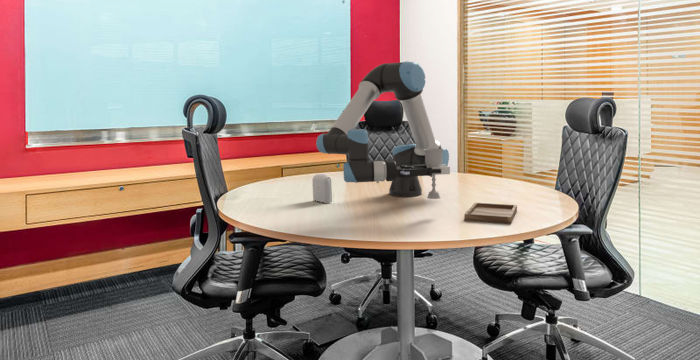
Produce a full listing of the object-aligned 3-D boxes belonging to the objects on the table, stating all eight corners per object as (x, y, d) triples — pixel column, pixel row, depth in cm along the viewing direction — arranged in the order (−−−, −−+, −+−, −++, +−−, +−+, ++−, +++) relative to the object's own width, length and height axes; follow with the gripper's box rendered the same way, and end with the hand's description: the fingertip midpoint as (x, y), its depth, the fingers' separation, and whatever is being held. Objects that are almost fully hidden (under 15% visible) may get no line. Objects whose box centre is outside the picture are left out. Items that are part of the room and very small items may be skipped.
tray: (474, 208, 202) (475, 202, 202) (516, 211, 196) (517, 205, 195) (464, 220, 182) (464, 214, 182) (510, 223, 176) (510, 217, 175)
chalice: (427, 200, 184) (427, 150, 182) (421, 196, 191) (421, 149, 188) (446, 198, 186) (446, 149, 183) (439, 195, 192) (439, 148, 190)
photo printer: (311, 201, 225) (310, 173, 223) (319, 199, 228) (318, 172, 226) (325, 204, 217) (324, 175, 215) (333, 202, 220) (332, 174, 218)
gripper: (383, 177, 196) (442, 175, 197) (388, 185, 178) (453, 183, 178) (382, 158, 195) (442, 156, 196) (387, 164, 177) (453, 162, 177)
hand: (447, 169), depth 187 cm, fingers closed on chalice, 6 cm apart
